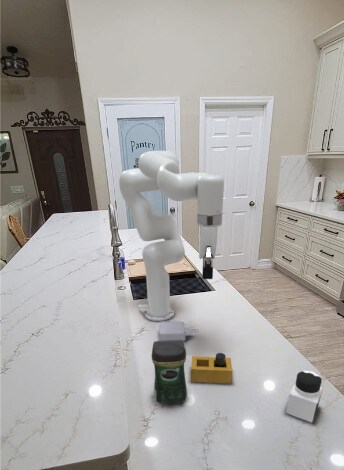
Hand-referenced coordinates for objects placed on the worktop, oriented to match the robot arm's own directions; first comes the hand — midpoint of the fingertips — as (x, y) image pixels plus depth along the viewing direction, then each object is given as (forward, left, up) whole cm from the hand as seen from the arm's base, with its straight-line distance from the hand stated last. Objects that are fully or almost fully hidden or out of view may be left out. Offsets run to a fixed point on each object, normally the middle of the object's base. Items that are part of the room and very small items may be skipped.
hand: (207, 273), depth 107 cm
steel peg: (+5, -17, -28) cm, 33 cm away
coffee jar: (-10, -28, -28) cm, 41 cm away
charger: (-10, +6, -28) cm, 31 cm away
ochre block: (+2, -18, -28) cm, 33 cm away
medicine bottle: (+27, -31, -28) cm, 50 cm away
